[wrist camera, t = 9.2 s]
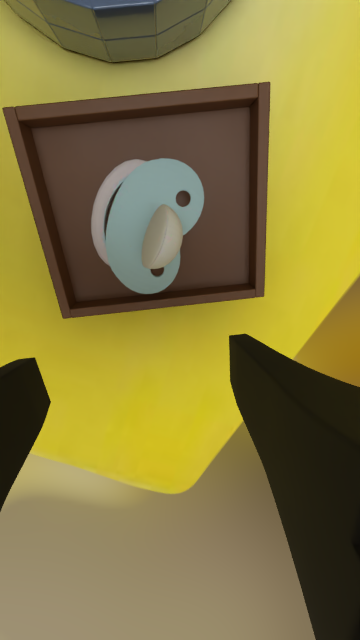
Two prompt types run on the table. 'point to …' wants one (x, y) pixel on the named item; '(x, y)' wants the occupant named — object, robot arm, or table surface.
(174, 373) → the table surface
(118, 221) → the pacifier
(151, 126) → the tray
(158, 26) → the bowl
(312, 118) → the table surface
